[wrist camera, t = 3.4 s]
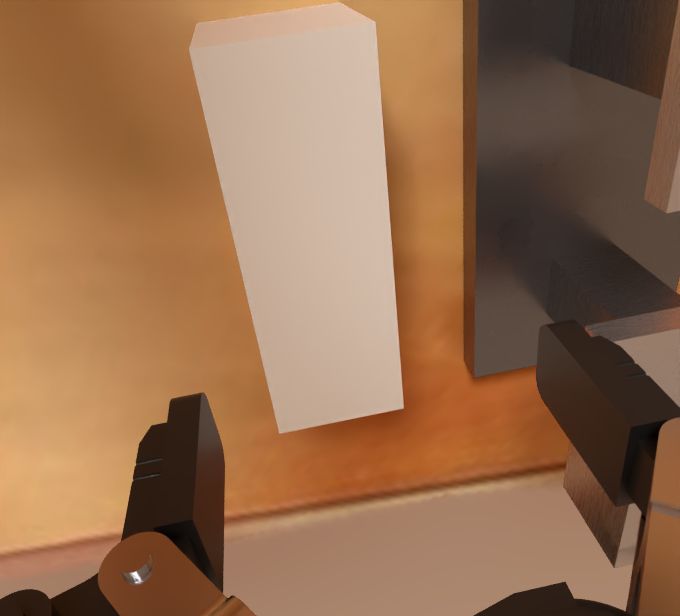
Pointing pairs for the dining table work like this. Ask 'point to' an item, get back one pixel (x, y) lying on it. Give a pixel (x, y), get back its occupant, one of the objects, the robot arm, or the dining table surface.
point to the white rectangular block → (307, 203)
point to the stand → (573, 196)
